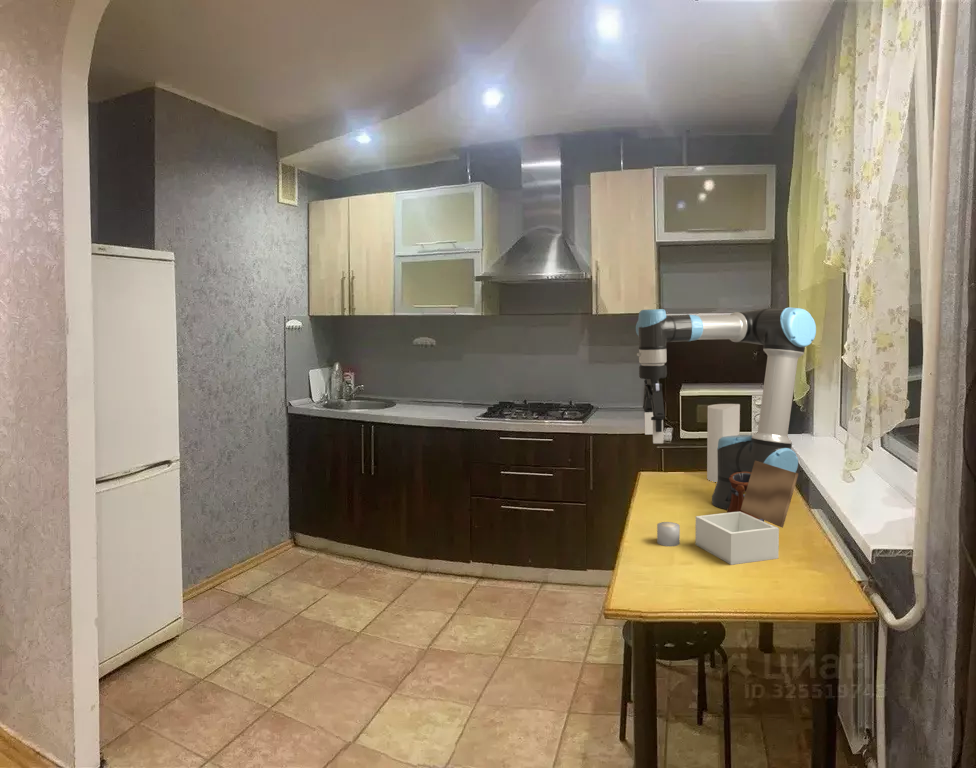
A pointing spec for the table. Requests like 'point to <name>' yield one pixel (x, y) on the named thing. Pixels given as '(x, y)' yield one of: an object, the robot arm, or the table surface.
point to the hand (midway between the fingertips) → (653, 438)
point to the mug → (739, 491)
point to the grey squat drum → (668, 534)
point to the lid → (769, 493)
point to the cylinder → (720, 432)
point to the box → (737, 537)
